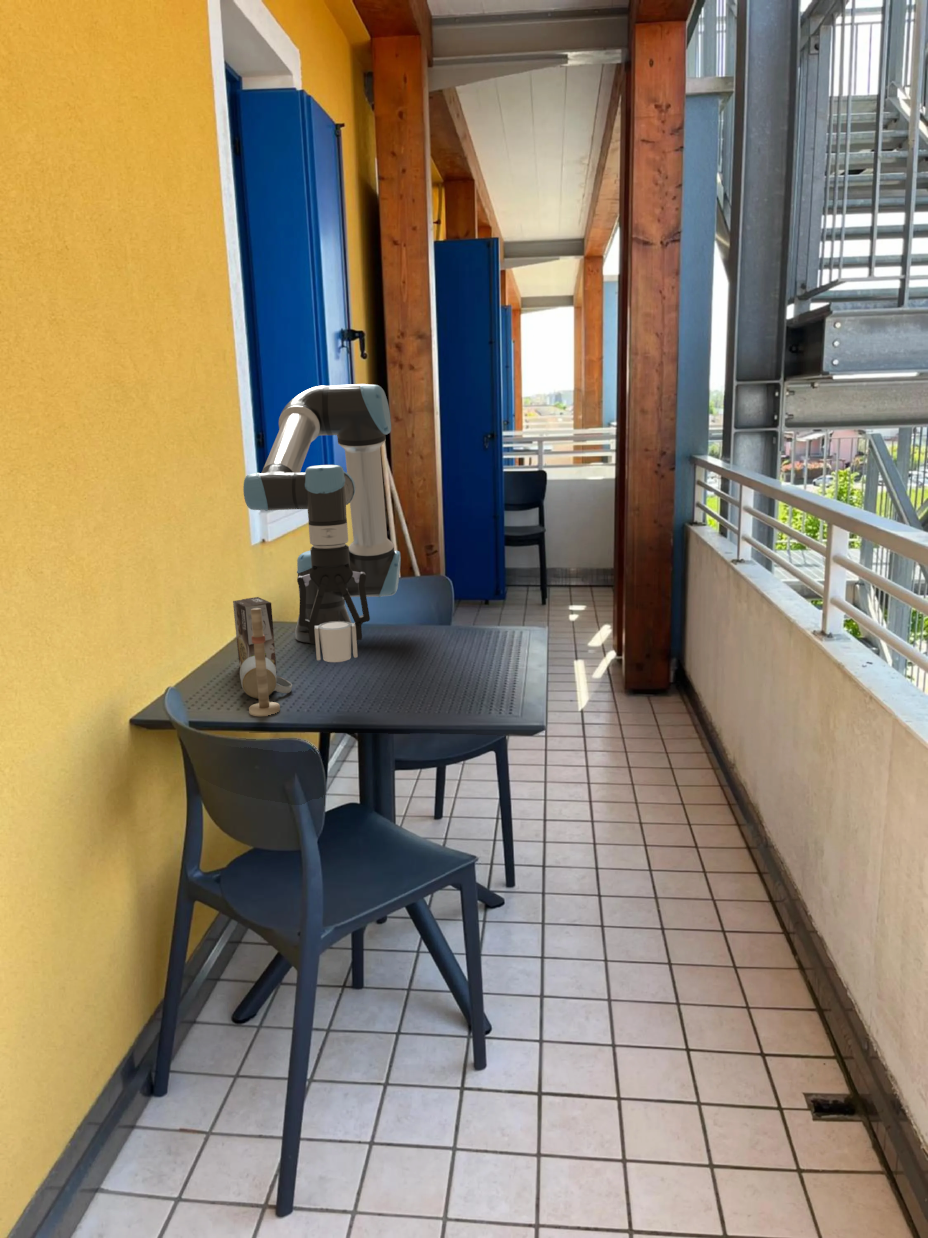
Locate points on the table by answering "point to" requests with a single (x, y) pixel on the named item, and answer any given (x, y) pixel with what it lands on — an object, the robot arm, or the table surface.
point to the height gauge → (261, 669)
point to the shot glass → (335, 640)
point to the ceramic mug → (250, 678)
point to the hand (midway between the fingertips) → (337, 656)
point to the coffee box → (245, 628)
